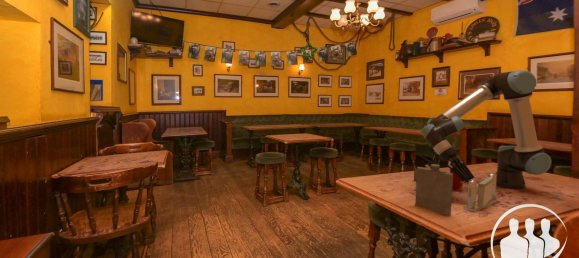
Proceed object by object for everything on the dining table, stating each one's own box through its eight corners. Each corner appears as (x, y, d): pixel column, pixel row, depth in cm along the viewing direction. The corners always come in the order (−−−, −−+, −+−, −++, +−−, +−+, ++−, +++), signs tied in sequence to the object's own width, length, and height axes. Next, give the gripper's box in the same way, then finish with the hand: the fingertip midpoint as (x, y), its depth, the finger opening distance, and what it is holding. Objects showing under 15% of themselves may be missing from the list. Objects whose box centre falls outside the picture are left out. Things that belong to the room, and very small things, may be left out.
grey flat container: (426, 179, 182) (427, 164, 181) (431, 180, 179) (431, 165, 178) (413, 181, 177) (413, 165, 176) (417, 182, 174) (417, 166, 174)
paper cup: (466, 191, 156) (468, 165, 154) (450, 190, 157) (452, 165, 156) (461, 187, 163) (462, 162, 162) (446, 186, 165) (447, 162, 164)
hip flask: (413, 205, 135) (415, 162, 133) (419, 203, 137) (421, 161, 135) (448, 216, 121) (450, 168, 120) (453, 214, 123) (456, 167, 122)
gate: (486, 197, 141) (488, 176, 140) (492, 198, 140) (493, 177, 139) (476, 206, 129) (478, 183, 128) (482, 207, 127) (484, 184, 126)
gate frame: (486, 198, 145) (487, 172, 144) (497, 200, 141) (499, 174, 140) (463, 208, 130) (464, 180, 129) (475, 212, 126) (477, 182, 125)
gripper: (446, 154, 153) (479, 193, 141) (432, 156, 145) (466, 199, 134) (457, 145, 148) (492, 185, 137) (444, 147, 140) (480, 190, 129)
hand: (479, 192), depth 135 cm, fingers closed
